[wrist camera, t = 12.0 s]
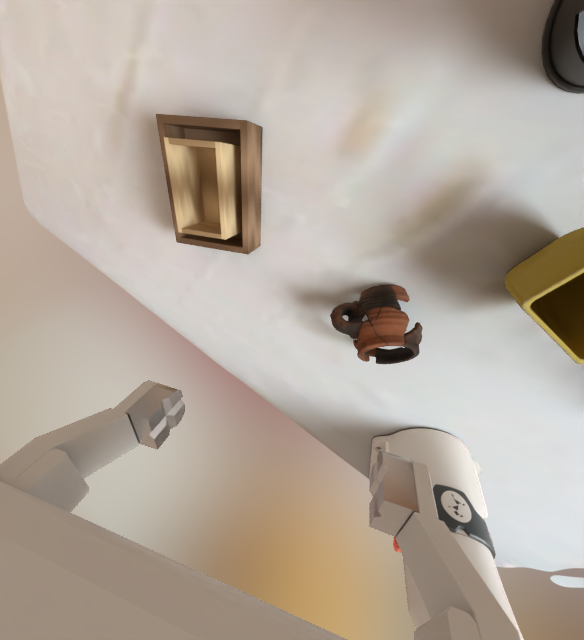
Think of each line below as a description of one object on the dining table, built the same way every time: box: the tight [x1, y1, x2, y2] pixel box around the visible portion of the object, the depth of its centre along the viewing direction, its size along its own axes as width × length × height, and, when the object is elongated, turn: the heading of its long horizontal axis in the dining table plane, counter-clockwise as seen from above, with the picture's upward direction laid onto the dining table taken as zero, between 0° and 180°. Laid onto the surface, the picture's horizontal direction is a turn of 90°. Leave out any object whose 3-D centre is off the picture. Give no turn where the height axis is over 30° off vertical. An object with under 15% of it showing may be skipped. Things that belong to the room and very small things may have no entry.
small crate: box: [164, 137, 242, 240], centre depth 28 cm, size 9×6×6 cm, turn 175°
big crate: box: [156, 114, 262, 254], centre depth 29 cm, size 13×10×4 cm
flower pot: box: [504, 228, 584, 364], centre depth 23 cm, size 9×9×9 cm
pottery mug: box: [330, 285, 422, 364], centre depth 33 cm, size 12×10×8 cm
